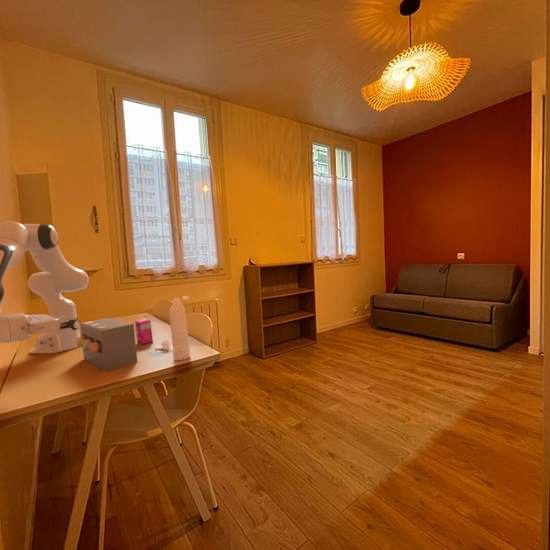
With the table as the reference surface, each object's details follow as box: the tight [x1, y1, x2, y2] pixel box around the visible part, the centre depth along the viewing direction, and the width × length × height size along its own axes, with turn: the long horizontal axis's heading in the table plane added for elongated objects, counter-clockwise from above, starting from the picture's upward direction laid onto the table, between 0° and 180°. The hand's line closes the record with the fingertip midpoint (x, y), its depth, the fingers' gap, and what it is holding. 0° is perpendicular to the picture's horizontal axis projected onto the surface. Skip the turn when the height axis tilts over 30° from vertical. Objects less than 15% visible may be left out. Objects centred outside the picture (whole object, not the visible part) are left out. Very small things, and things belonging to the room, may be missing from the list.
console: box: [79, 317, 138, 372], centre depth 130 cm, size 12×26×16 cm, turn 48°
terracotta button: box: [89, 342, 101, 354], centre depth 119 cm, size 3×4×4 cm
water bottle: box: [169, 296, 191, 361], centre depth 128 cm, size 9×6×25 cm
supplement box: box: [134, 318, 154, 346], centre depth 155 cm, size 6×6×12 cm
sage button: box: [81, 339, 93, 350], centre depth 125 cm, size 3×4×4 cm
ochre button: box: [76, 336, 87, 348], centre depth 130 cm, size 3×4×4 cm
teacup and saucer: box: [154, 340, 173, 353], centre depth 142 cm, size 9×8×4 cm
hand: (67, 318), depth 113 cm, fingers closed
